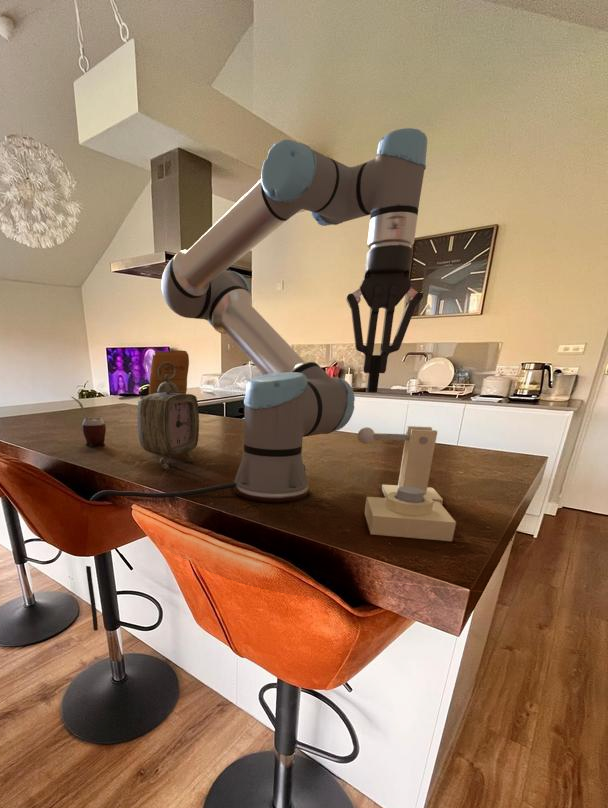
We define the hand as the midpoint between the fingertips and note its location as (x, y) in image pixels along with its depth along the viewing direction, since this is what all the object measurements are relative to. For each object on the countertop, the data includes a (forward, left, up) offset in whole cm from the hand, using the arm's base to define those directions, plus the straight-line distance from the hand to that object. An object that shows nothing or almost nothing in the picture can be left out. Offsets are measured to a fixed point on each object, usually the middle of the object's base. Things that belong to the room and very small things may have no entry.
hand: (371, 391), depth 80 cm
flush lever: (+5, 0, -10) cm, 11 cm away
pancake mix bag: (-53, +35, -21) cm, 67 cm away
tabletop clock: (-46, +14, -21) cm, 52 cm away
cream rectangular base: (+6, -17, -20) cm, 27 cm away
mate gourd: (-77, +32, -21) cm, 86 cm away
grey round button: (+6, -17, -16) cm, 24 cm away
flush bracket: (+10, 0, -20) cm, 23 cm away
